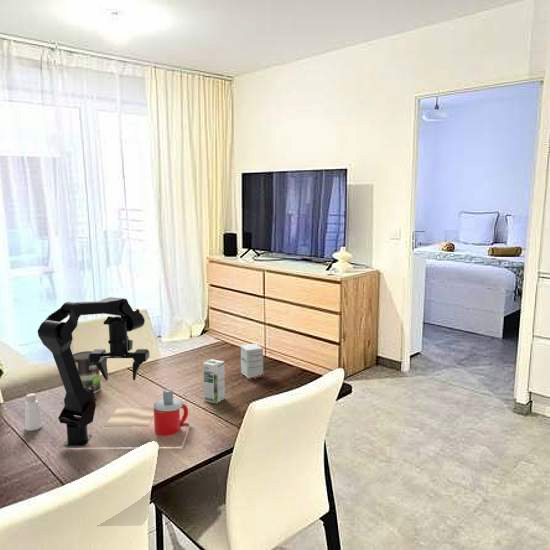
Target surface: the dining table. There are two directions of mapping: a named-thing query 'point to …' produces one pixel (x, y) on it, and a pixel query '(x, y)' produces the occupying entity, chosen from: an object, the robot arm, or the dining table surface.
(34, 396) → the pepper shaker
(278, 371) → the dining table surface
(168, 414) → the mug
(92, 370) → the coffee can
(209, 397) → the syrup box
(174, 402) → the lid
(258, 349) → the supplement box
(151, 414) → the mat
